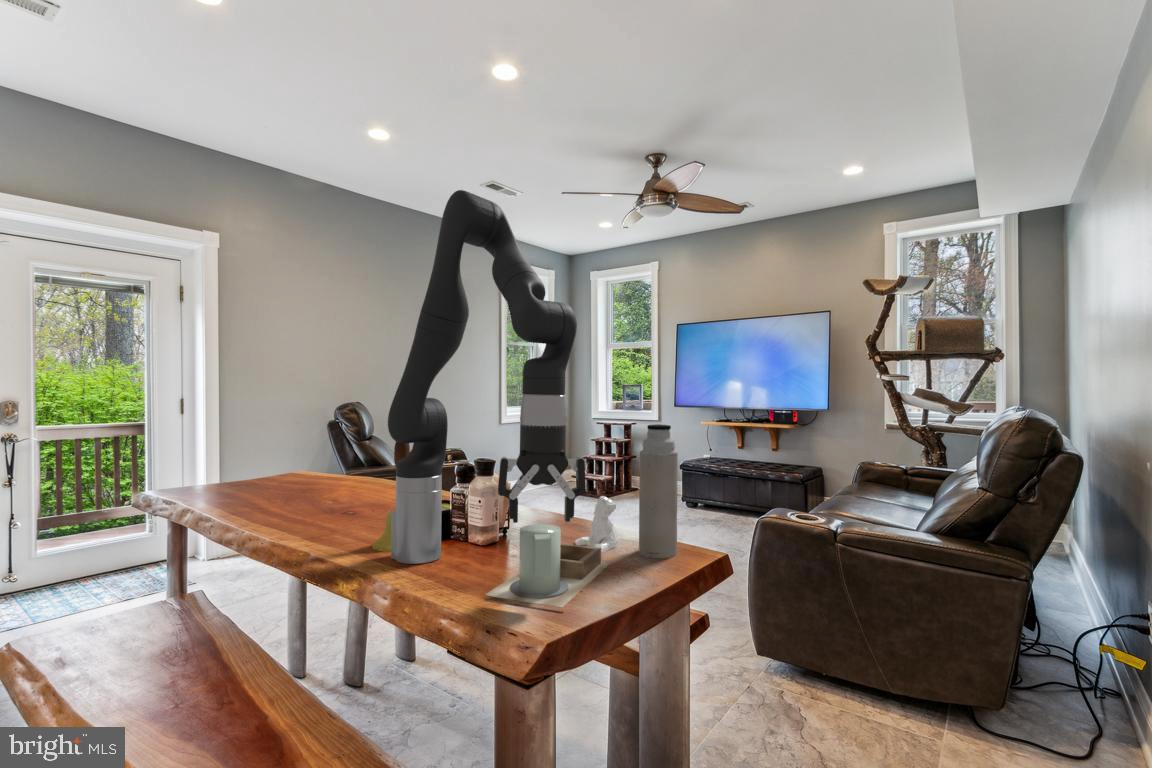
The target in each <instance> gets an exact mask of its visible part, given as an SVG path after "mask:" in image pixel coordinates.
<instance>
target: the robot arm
mask: <svg viewBox="0 0 1152 768" xmlns="http://www.w3.org/2000/svg"><path fill="white" fill-rule="evenodd" d="M510 225H511V224H510V223H509V220H508V218H507V216H506V214H505V212H504V211H503V209H502V207H501V206H500V205H499V204H497V203H496V202H493V201H492V200H489V199H487V198H484V197H481V196H480V195H476V194H474V193H471V192H470V191H467V190H463V189H458V190H456V191H454V192H453V193H452V194H451V195H450V196H449V198H448V200H447V202H446V204H445V207H444V210H443V214H442V217H441V224H440V228H439V234H438V238H437V243H436V244H437V245H436V251H435V255H434V261H433V265H432V266H433V267H432V270H431V275H430V279H429V282H428V286H427V289H426V293H425V296H424V299H423V303H422V305H421V309H420V311H419V312H420V313H419V316H418V320H417V322H416V323H417V324H416V328H415V332H414V336H413V337H414V338H413V339H412V340H413V341H412V344H411V348H410V351H409V354H408V358H407V361H406V363H405V364H406V365H405V366H404V367H405V368H404V370H403V373H402V376H401V379H400V381H399V382H398V383H399V384H398V386H397V388H396V391H395V394H394V397H393V399H392V401H391V405H390V408H389V412H388V415H387V429H388V434H389V435H390V437H391V439H392V440H394V442H395V443H396V442H399V443H409V444H412V447H411V449H410V453H409V454H408V455H407V456H405V457H404V458H403V459H401V460H399V461H398V463H397V465H396V466H395V507H396V511H394V512H392V514H391V552H390V559H392V560H395V561H396V562H398V563H401V564H409V565H410V564H411V565H412V564H415V565H416V564H425V563H431V562H434V561H436V560H439V559H440V558H441V557H442V504H443V503H442V501H443V500H442V497H443V496H442V492H443V491H442V487H443V485H442V482H443V481H442V479H443V478H442V477H443V466H444V463H445V461H446V456H447V444H448V442H447V441H448V425H449V424H448V413H447V411H446V408H445V405H444V404H443V403H442V402H441V401H440V400H439V399H437V398H433V397H428V394H429V392H430V388H431V386H432V384H433V382H434V380H435V379H436V377H437V376H438V374H439V373H440V372H441V371H442V369H443V368H444V367H445V366H446V365H447V364H448V362H449V361H450V360H451V358H453V356H454V355H455V353H456V352H457V351H458V349H459V348H460V346H461V343H462V341H463V338H464V335H465V331H466V327H467V323H468V320H469V317H470V316H469V315H470V314H469V313H470V309H469V302H468V298H467V294H466V290H465V287H464V283H463V279H462V275H461V274H462V273H461V258H462V253H463V247H464V243H465V244H467V245H470V246H474V247H479V248H483V249H484V250H485V251H487V252H488V253H489V254H490V255H491V256H492V258H493V262H492V267H491V275H492V279H493V281H494V284H495V286H496V287H497V289H498V291H499V292H500V294H501V295H502V297H503V298H504V299H505V301H506V304H507V307H508V311H509V317H510V321H511V327H512V329H513V331H514V332H515V334H516V335H517V337H518V338H520V339H521V340H522V341H524V342H526V343H532V344H543V345H544V344H545V347H544V350H543V352H542V354H541V356H539V357H533V358H530V359H527V360H526V361H525V362H524V363H523V368H522V395H521V403H520V416H519V421H520V423H519V455H518V457H517V458H509V457H508V458H507V457H506V456H502V457H501V458H500V461H499V470H498V471H499V474H498V484H497V494H498V495H499V496H500V497H505V498H507V499H508V516H509V517H508V518H509V519H510V520H512V523H514V524H516V523H518V521H519V518H518V517H519V513H518V512H519V498H518V497H519V495H520V494H521V493H522V491H523V490H524V489H525V488H526V487H527V485H529V484H531V485H532V486H539V485H545V486H546V485H547V486H552V485H554V484H556V483H557V485H558V486H559V488H561V490H562V491H563V492H564V494H565V496H564V516H563V517H564V522H566V523H570V522H571V519H574V516H575V500H576V498H577V497H579V496H584V495H585V494H586V493H587V488H586V487H587V485H586V462H585V459H584V458H582V457H581V456H576V457H575V458H568V457H567V454H566V447H567V446H566V444H567V443H566V442H567V439H566V438H567V421H568V420H567V419H568V417H567V403H566V402H567V401H566V371H567V367H568V363H569V360H570V357H571V353H572V349H573V345H574V342H575V339H576V335H577V328H578V325H577V324H578V323H577V322H578V321H577V317H576V314H575V312H574V310H573V308H572V307H571V306H570V305H569V304H566V303H564V302H559V301H552V300H551V301H550V300H545V299H546V298H545V297H546V288H545V285H544V283H543V281H542V279H541V278H540V277H539V275H538V273H537V272H536V271H535V270H534V268H533V267H532V266H531V264H530V262H529V261H528V260H527V259H526V257H525V256H524V254H523V252H522V250H521V248H520V245H519V244H518V241H517V239H516V237H515V235H514V232H513V230H512V228H511V226H510ZM515 466H516V467H517V469H518V470H519V471H520V472H521V475H520V477H519V478H518V479H517V481H516V482H515V484H514V485H513V486H512V487H511V488H508V487H507V481H508V479H507V478H508V473H510V472H512V471H513V469H514V467H515ZM569 466H570V467H571V470H572V471H573V472H575V483H576V484H575V485H576V486H575V487H573V488H571V487H570V485H569V483H568V482H567V481H566V479H564V477H563V476H562V475H563V474H564V472H565V470H567V468H568V467H569Z"/></svg>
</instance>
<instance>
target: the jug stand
mask: <svg viewBox="0 0 1152 768" xmlns="http://www.w3.org/2000/svg"><path fill="white" fill-rule="evenodd" d="M609 565H610V563H604V562H602V553H601V548H596V547H588V546H587V545H576V544H570V543H569V544H568V543H561V546H560V590H559V591H557V592H555V593H552V594H548V595H530V594H526V593H523V592H521V591H520V590H519V572H517V573H515V574H514V575H513V576H511V577H510V578H508V579H507V580H506V581H504V582H502V583H500V584H499V585H497V586H496V587H494V588H493V589H491V590H490V591H488V592H487V593H485V594H484V596H487V597H494V598H500V599H505V600H511V601H519V602H524V603H529V604H537V605H543V606H548V607H549V606H550V607H555V608H564V607H565V606H566V605H567V604H568V603H569V602H570V601H571V600H572V599H573V598H574V597H575V596H577V594H579V593H580V592H581V591H582V590H583V589H584V588H586V586H588V585H589V583H590V582H592V581H593V580H594V579H595V578H596V577H597V576H598V575H599V574H600V573H602V572H603V571H604V570H605V569H606V568H607V567H608V566H609ZM483 601H484V602H488V603H495V604H502V605H507V606H514V607H520V608H526V609H530V610H531V609H532V610H537V611H542V612H543V611H544V612H548V613H555V614H560V615H562V614H563V613H564V611H560V610H552V609H548V608H540V607H534V606H529V605H523V604H517V603H510V602H506V601H505V602H503V601H500V600H493V599H492V600H491V599H484V600H483Z"/></svg>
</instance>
